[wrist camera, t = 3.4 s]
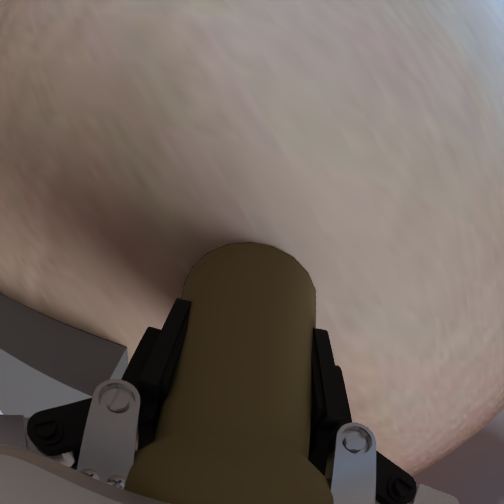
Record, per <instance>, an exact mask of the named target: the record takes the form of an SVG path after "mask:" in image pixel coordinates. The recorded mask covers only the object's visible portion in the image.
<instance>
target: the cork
mask: <svg viewBox="0 0 504 504" xmlns="http://www.w3.org/2000/svg"><path fill="white" fill-rule="evenodd" d="M181 299H183V300H187V301H191V305H190V313H189V320H188V328H187V332H186V335H185V339H184V342H183V345H182V348H181V351H180V355H179V358H178V361H177V365H176V368H175V371H174V375H173V378H172V381H171V385H170V388H169V391H168V395H167V398H166V399H165V401H164V402H163V404H162V406H161V407H160V409H159V413H158V420H157V426H156V433H155V439H154V442H152V443H150V444H149V445H147V446H145V447H143V448H142V449H140V450H138V451H137V452H136V456H135V460H134V464H133V465H132V467H131V468H130V471H129V474H128V476H127V479H126V483H125V487H124V490H127V491H130V492H133V493H136V494H139V495H142V496H145V497H148V498H152V499H155V500H159V501H163V502H166V503H170V504H334V501H333V495H332V493H331V491H330V487H329V484H328V482H327V479H326V477H325V476H324V475H323V474H322V473H321V472H320V471H319V470H318V469H317V468H316V467H315V466H314V465H313V464H312V463H311V462H310V461H309V460H308V455H309V444H310V431H311V413H312V365H311V351H312V339H313V328H316V290H315V287H314V285H313V283H312V280H311V278H310V276H309V273H308V272H307V271H306V270H305V269H304V268H303V267H302V266H301V264H300V263H299V262H298V261H297V260H296V259H295V258H294V257H292V256H290V255H288V254H286V253H285V252H283V251H281V250H279V249H277V248H275V247H272V246H267V245H262V244H257V243H251V242H248V243H239V244H229V245H225V246H223V247H221V248H218V249H216V250H214V251H212V252H209V253H207V254H206V255H205V256H204V257H203V258H202V259H201V260H200V261H198V262H197V263H196V264H195V265H194V266H193V267H192V269H191V271H190V273H189V275H188V278H187V280H186V282H185V284H184V289H183V293H182V297H181Z"/></svg>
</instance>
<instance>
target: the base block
mask: <svg viewBox="0 0 504 504" xmlns="http://www.w3.org/2000/svg"><path fill="white" fill-rule="evenodd" d="M127 366H128V356H127V347H124V346H121V345H118V344H115V343H112V342H109V341H107V340H104V339H101V338H98V337H96V336H93V335H90V334H88V333H85V332H83V331H80V330H77V329H75V328H73V327H70V326H68V325H65V324H63V323H61V322H58V321H56V320H54V319H51V318H49V317H47V316H45V315H42V314H40V313H38V312H36V311H34V310H32V309H30V308H27V307H25V306H23V305H21V304H19V303H17V302H15V301H13V300H11V299H10V298H8V297H6V296H4V295H2V294H0V410H1V411H2V413H3V414H4V415H24V417H25V418H29V417H31V416H32V415H33V414H35V413H36V412H39V411H42V410H46V409H50V408H54V407H58V406H62V405H66V404H70V403H74V402H77V401H81V400H85V399H88V398H92V397H93V394H94V391H95V389H96V387H97V386H98V385H99V384H101V383H102V382H104V381H106V380H111V379H120V380H121V378H122V376H123V374H124V372H125V370H126V368H127Z"/></svg>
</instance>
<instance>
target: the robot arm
mask: <svg viewBox="0 0 504 504" xmlns="http://www.w3.org/2000/svg"><path fill="white" fill-rule="evenodd" d="M190 305H191V301H187V300H183V299H179V298H177V299H176V301H175V303H174V305H173V307H172V309H171V311H170V313H169V315H168V317H167V319H166V321H165V323H164V326H163V328H162V330H160V329H156V328H153V327H148V328H147V330H146V332H145V333H144V335H143V337H142V339H141V341H140V343H139V345H138V347H137V349H136V351H135V353H134V355H133V357H132V359H131V360H130V362H129V364H128V366H127V368H126V370H125V372H124V374H123V376H122V378H121V380H120V379H111V380H106V381H104V382H102V383H101V384H99V385H98V386H97V387H96V389H95V391H94V394H93V397H92V398H88V399H85V400H81V401H77V402H74V403H70V404H66V405H62V406H58V407H54V408H50V409H46V410H42V411H39V412H36V413H35V414H33V415H32V416H31V417H29V418H25V417H24V415H0V504H170V503H166V502H163V501H159V500H155V499H152V498H148V497H145V496H142V495H139V494H136V493H133V492H130V491H127V490H124V487H125V483H126V479H127V476H128V474H129V471H130V468H131V467H132V465H133V464H134V460H135V456H136V452H137V451H138V450H140V449H142V448H143V447H145V446H147V445H149V444H150V443H152V442H154V439H155V433H156V426H157V420H158V413H159V409H160V407H161V406H162V404H163V402H164V401H165V399H166V398H167V395H168V391H169V388H170V385H171V381H172V378H173V375H174V371H175V368H176V365H177V361H178V358H179V355H180V351H181V348H182V345H183V342H184V339H185V335H186V332H187V328H188V320H189V313H190ZM311 365H312V413H311V431H310V444H309V455H308V460H309V461H310V462H311V463H312V464H313V465H314V466H315V467H316V468H317V469H318V470H319V471H320V472H321V473H322V474H323V475H324V476H325V477H326V479H327V482H328V484H329V487H330V491H331V493H332V495H333V501H334V504H459V502H458V500H457V499H456V498H455V497H453V496H451V495H448V494H446V493H443V492H440V491H438V490H435V489H433V488H430V487H428V486H425V485H422V484H419V485H416V482H415V481H414V479H413V477H411V476H410V475H409V474H408V473H407V472H405V471H404V470H402V469H401V468H400V467H398V466H397V465H395V464H394V463H393V462H391V461H390V460H388V459H387V458H386V457H384V456H383V455H382V454H380V453H379V452H378V451H376V439H375V436H374V434H373V432H372V431H371V430H370V429H369V428H368V427H366V426H364V425H363V424H359V423H352V419H351V413H350V408H349V403H348V399H347V394H346V389H345V384H344V380H343V375H342V371H341V368H340V367H339V366H336V365H335V363H334V358H333V354H332V349H331V344H330V340H329V335H328V332H327V330H322V329H316V328H313V339H312V351H311ZM76 470H77V471H76Z"/></svg>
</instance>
